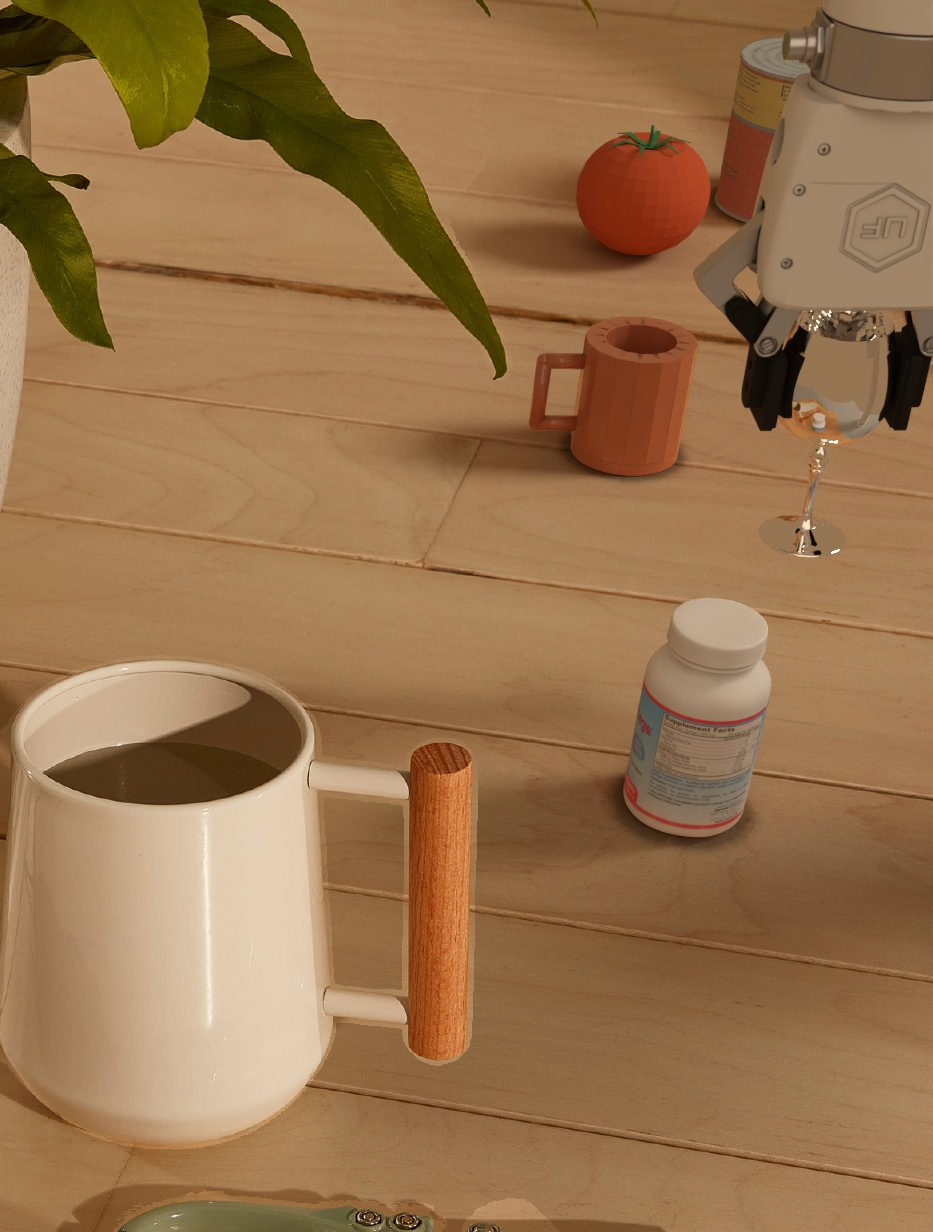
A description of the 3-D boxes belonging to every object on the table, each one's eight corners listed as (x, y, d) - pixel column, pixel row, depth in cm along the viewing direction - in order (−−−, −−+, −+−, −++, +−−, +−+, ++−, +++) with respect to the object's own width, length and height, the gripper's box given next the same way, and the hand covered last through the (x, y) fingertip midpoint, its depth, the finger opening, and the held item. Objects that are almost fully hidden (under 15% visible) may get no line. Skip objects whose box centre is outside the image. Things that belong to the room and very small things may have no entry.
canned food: (849, 238, 164) (882, 87, 157) (706, 221, 167) (732, 72, 160) (859, 189, 173) (891, 44, 165) (723, 173, 176) (748, 30, 168)
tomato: (634, 216, 168) (653, 94, 162) (727, 257, 161) (750, 131, 155) (541, 244, 164) (557, 119, 158) (632, 287, 157) (653, 158, 151)
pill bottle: (638, 759, 109) (672, 577, 102) (753, 789, 106) (796, 605, 99) (607, 823, 104) (641, 637, 97) (727, 855, 102) (770, 668, 95)
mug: (667, 427, 139) (686, 316, 134) (685, 477, 133) (706, 363, 128) (519, 425, 139) (533, 314, 134) (531, 474, 133) (546, 361, 129)
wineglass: (729, 545, 107) (767, 330, 100) (769, 500, 111) (808, 289, 103) (837, 575, 104) (884, 356, 97) (875, 528, 108) (923, 313, 101)
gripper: (723, 83, 90) (666, 454, 101) (1123, 78, 89) (1022, 453, 100) (692, 32, 96) (641, 387, 107) (1066, 27, 95) (977, 386, 106)
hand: (826, 415), depth 103 cm, fingers closed on wineglass, 5 cm apart
